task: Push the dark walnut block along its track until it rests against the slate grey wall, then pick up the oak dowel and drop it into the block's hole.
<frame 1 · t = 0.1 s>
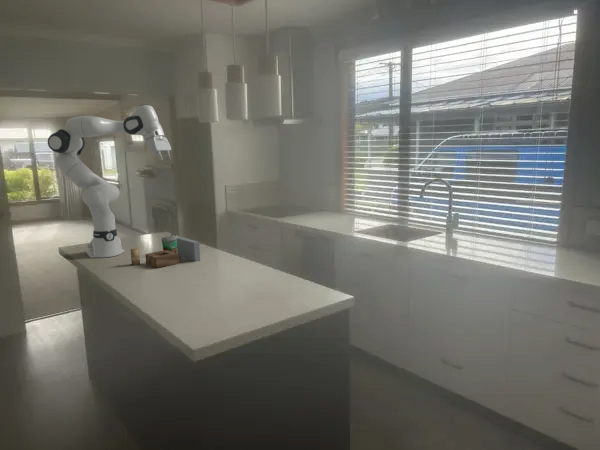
hand: (165, 159, 231), 52 cm above the countertop, tool tilted 20°, fingers open, 8 cm apart
green rounded container: (172, 253, 246), on the countertop
block: (162, 258, 223), point 3 cm above the countertop, slide at 0.0 cm
wall: (188, 258, 234), on the countertop
dowel: (135, 264, 223), on the countertop
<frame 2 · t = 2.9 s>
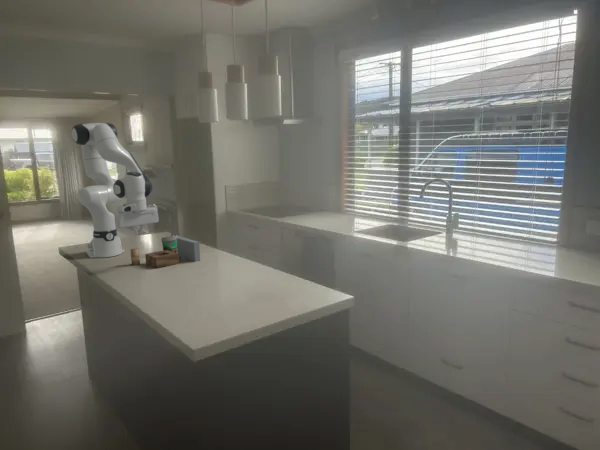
hand: (139, 234, 213), 17 cm above the countertop, tool pointing down, fingers closed
nothing on the countertop moved.
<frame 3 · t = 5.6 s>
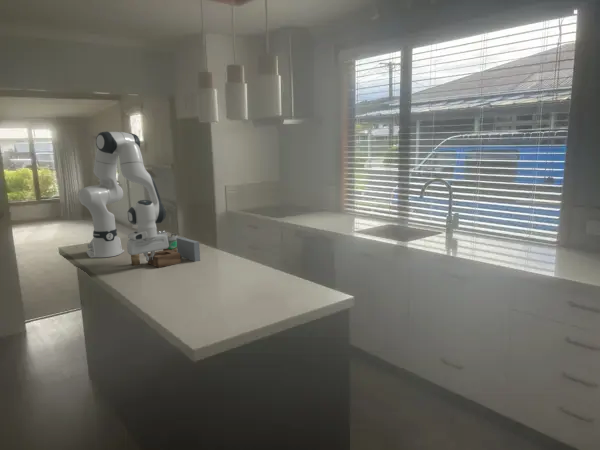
hand: (149, 260, 219), 3 cm above the countertop, tool pointing down, fingers closed
block: (163, 258, 224), point 3 cm above the countertop, slide at 1.0 cm, touching gripper
everything else where it was.
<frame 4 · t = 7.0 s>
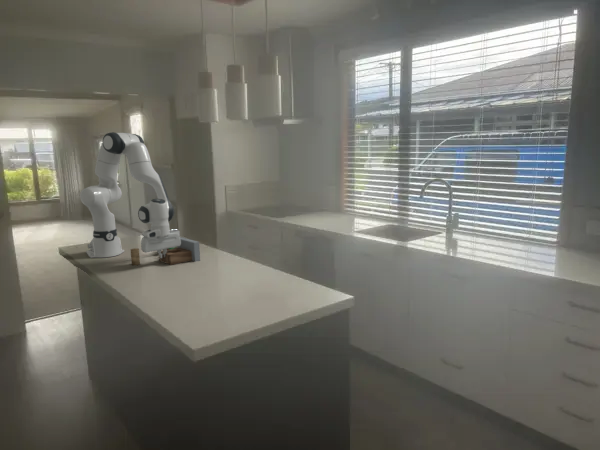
hand: (162, 257, 223), 3 cm above the countertop, tool pointing down, fingers closed
block: (175, 255, 228), point 3 cm above the countertop, slide at 7.5 cm, touching gripper, wall
everything else where it was.
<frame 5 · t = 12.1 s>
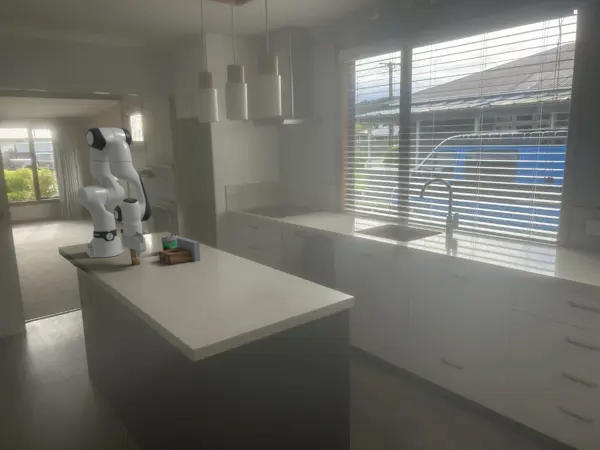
hand: (135, 257, 223), 4 cm above the countertop, tool pointing down, fingers closed on dowel, 4 cm apart
block: (175, 255, 228), point 3 cm above the countertop, slide at 7.5 cm, touching wall
dowel: (135, 264, 223), on the countertop, touching gripper
everything else where it was.
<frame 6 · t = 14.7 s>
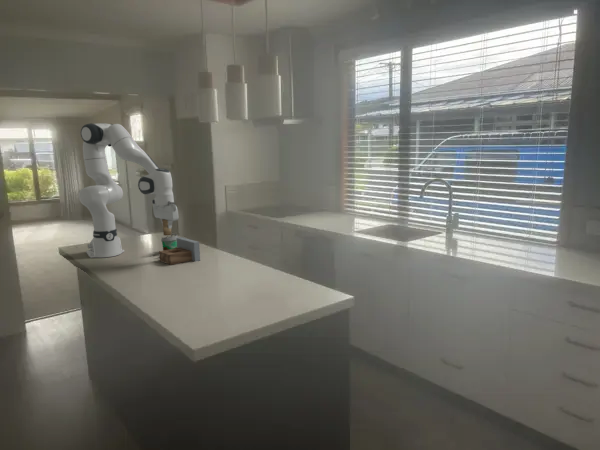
hand: (167, 227, 224), 18 cm above the countertop, tool pointing down, fingers closed on dowel, 4 cm apart
dowel: (167, 234, 225), point 14 cm above the countertop, touching gripper
everything else where it was.
when the fingers open (6 cm above the countertop, at t = 17.4 s): dowel drops 1 cm, resting on block.
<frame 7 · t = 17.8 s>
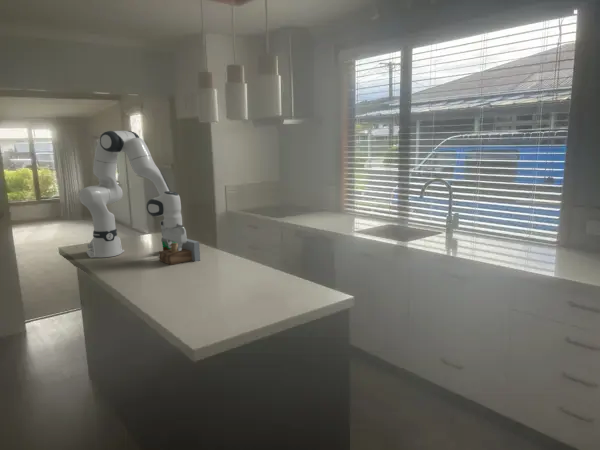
hand: (175, 249, 228), 6 cm above the countertop, tool pointing down, fingers open, 8 cm apart
block: (175, 255, 228), point 3 cm above the countertop, slide at 7.5 cm, touching dowel, wall
dowel: (175, 258, 229), point 1 cm above the countertop, touching block
everything else where it was.
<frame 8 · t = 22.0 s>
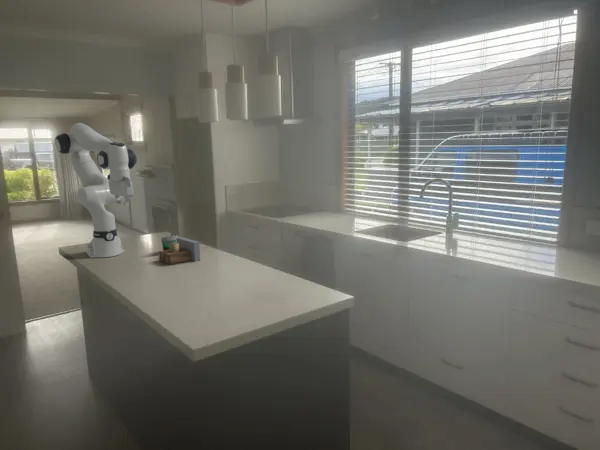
hand: (122, 204, 215), 31 cm above the countertop, tool pointing down, fingers open, 8 cm apart
block: (175, 255, 228), point 3 cm above the countertop, slide at 7.5 cm, touching dowel
everything else where it was.
at the end: block slide at 7.5 cm; dowel 0.1 cm from the target spot, point 1.2 cm above the countertop; dowel tilted 1° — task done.
